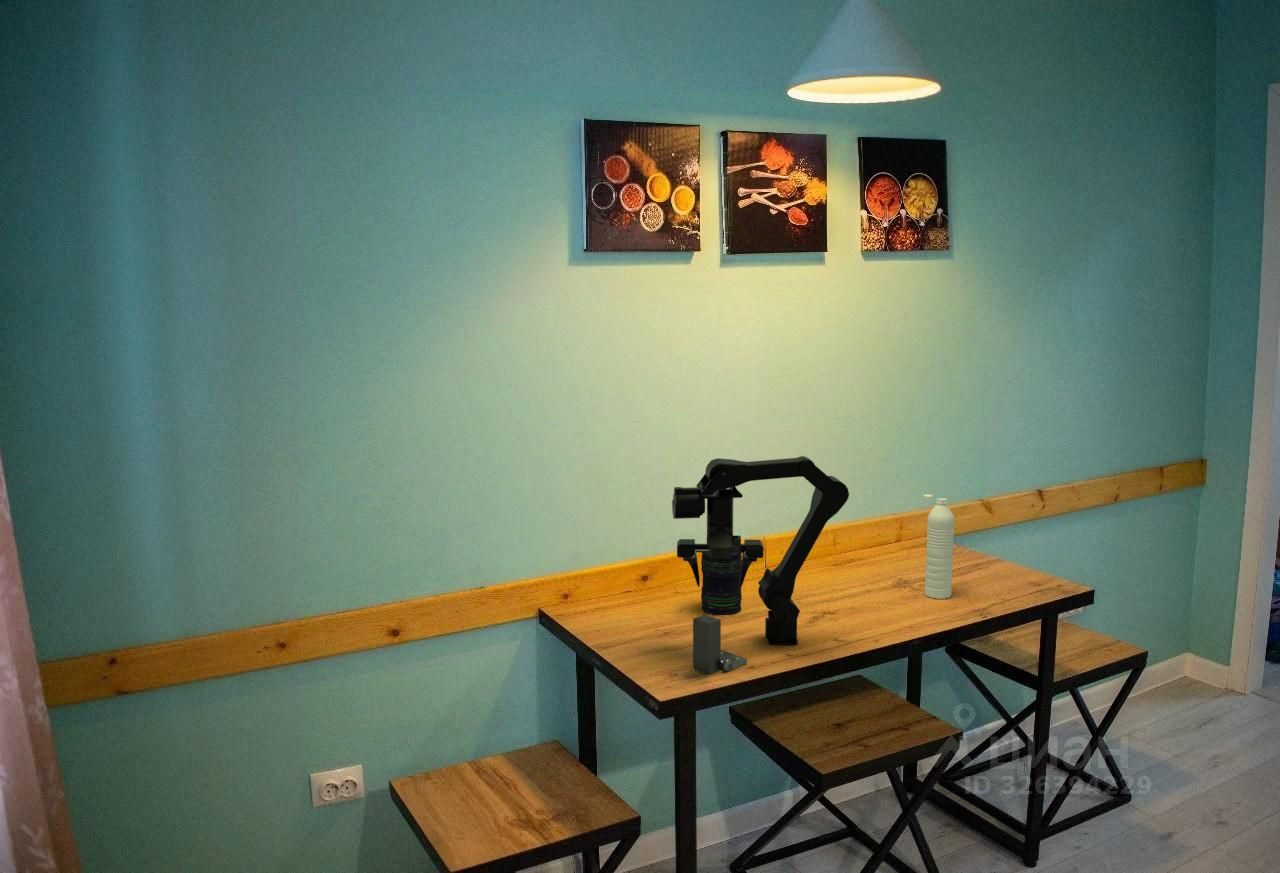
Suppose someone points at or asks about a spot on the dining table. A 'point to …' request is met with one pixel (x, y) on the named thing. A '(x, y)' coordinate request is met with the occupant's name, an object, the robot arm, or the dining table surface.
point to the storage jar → (721, 585)
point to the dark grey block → (707, 644)
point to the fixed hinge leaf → (731, 661)
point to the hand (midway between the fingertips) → (719, 586)
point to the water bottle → (939, 550)
